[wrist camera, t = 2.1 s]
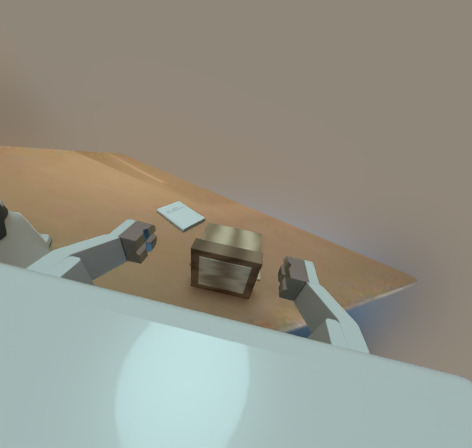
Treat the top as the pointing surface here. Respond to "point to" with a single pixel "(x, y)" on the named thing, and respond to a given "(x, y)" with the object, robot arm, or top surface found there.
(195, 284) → the walnut picture frame
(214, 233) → the beige square tray
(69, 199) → the top surface
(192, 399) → the robot arm
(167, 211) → the external hard drive
